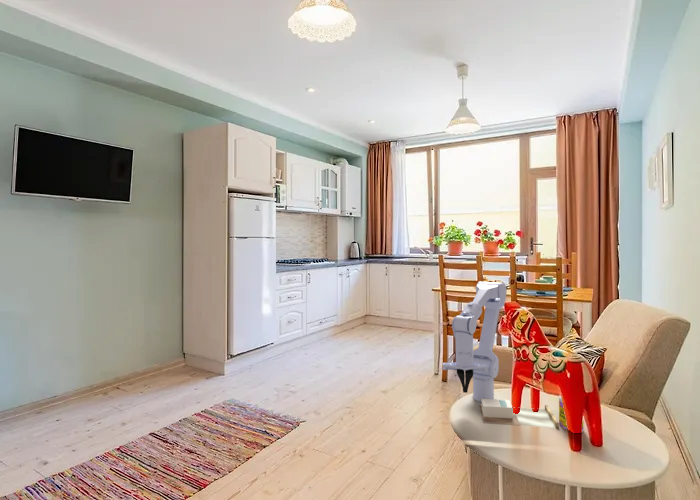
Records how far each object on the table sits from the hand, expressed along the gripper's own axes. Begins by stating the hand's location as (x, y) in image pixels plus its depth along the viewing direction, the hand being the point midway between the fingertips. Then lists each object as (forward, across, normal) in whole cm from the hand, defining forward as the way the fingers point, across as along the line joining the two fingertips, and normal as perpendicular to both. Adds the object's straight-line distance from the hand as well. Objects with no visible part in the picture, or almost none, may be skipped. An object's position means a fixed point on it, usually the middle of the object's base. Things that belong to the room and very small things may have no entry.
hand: (465, 391), depth 140 cm
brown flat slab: (+8, +16, -1) cm, 18 cm away
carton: (+7, +10, 0) cm, 12 cm away
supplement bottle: (+8, +31, -6) cm, 33 cm away
